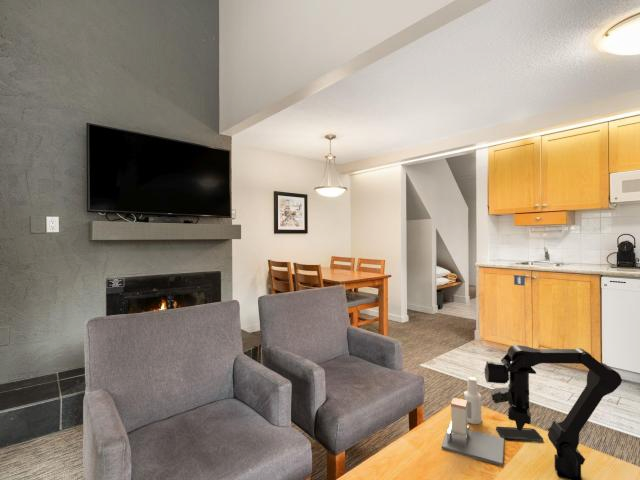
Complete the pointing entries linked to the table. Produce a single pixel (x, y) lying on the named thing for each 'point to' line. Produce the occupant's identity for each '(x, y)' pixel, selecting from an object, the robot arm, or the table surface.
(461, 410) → the tall rectangular pillar
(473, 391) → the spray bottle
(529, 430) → the phone
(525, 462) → the table surface
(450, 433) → the friction collar
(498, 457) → the base board
